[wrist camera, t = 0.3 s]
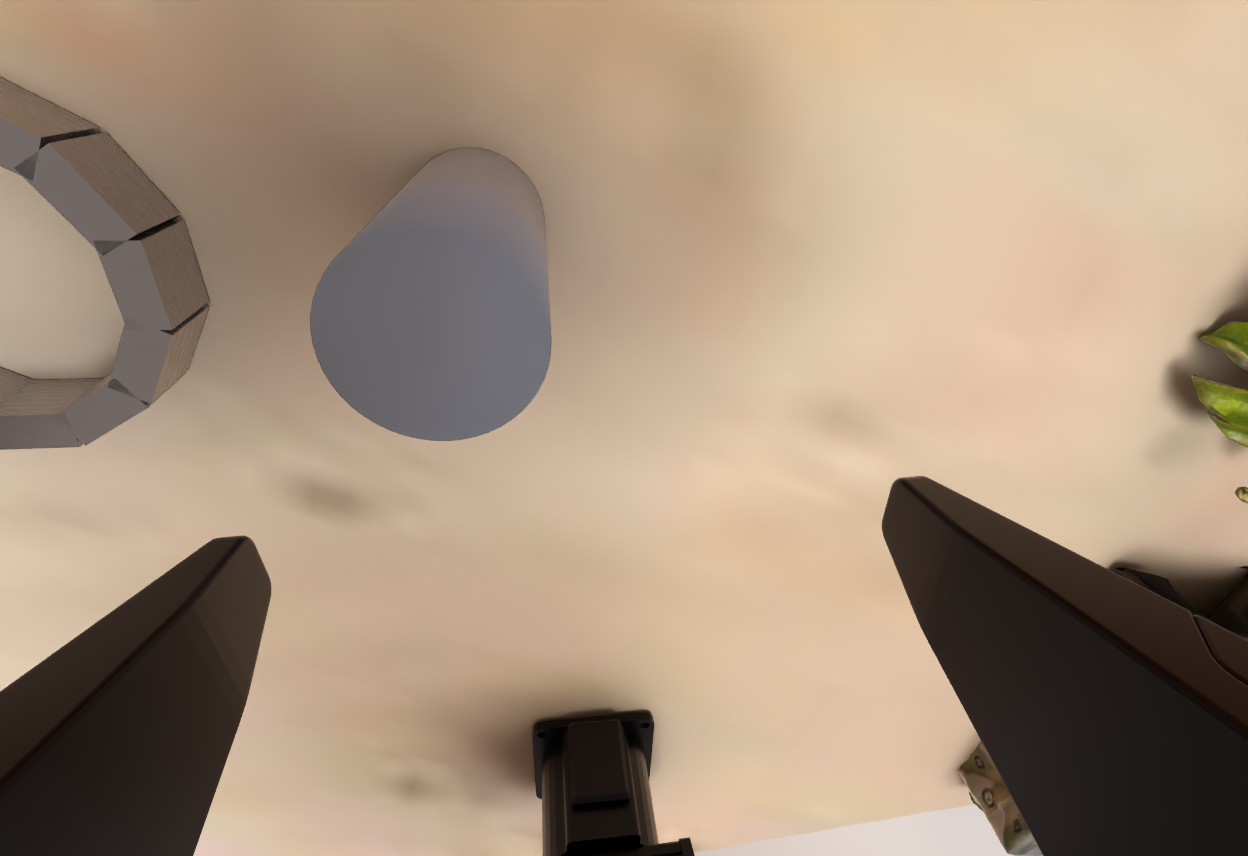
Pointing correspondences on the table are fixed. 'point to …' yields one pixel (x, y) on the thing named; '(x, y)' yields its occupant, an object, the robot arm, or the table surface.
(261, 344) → the table surface
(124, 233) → the steel ring
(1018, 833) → the dark olive boxy piece
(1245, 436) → the green succulent plant
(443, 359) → the slate-blue peg
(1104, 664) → the robot arm
